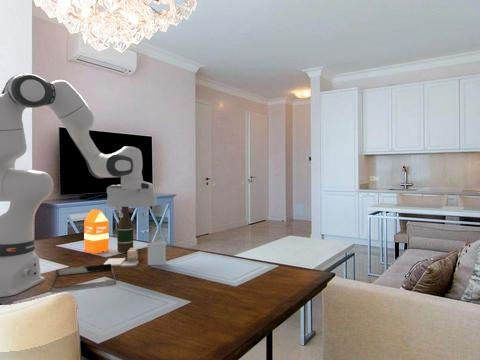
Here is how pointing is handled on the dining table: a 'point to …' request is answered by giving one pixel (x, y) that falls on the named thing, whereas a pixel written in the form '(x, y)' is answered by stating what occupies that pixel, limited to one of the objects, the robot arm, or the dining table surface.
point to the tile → (157, 253)
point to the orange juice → (96, 232)
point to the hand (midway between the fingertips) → (132, 217)
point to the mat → (115, 261)
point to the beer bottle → (125, 231)
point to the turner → (131, 258)
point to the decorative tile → (83, 270)
